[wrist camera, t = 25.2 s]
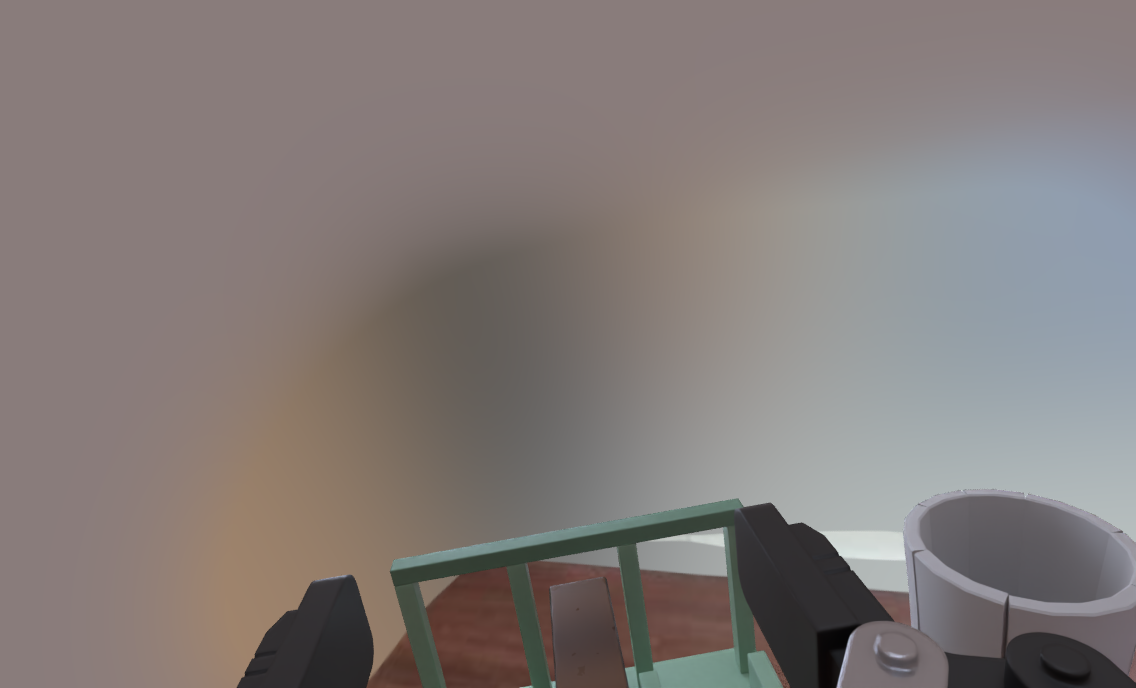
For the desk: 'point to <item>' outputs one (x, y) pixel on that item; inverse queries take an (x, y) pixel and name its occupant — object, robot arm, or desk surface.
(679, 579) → the desk surface
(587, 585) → the dark brown rectangular block
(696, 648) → the desk surface
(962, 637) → the cup
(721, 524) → the rack
